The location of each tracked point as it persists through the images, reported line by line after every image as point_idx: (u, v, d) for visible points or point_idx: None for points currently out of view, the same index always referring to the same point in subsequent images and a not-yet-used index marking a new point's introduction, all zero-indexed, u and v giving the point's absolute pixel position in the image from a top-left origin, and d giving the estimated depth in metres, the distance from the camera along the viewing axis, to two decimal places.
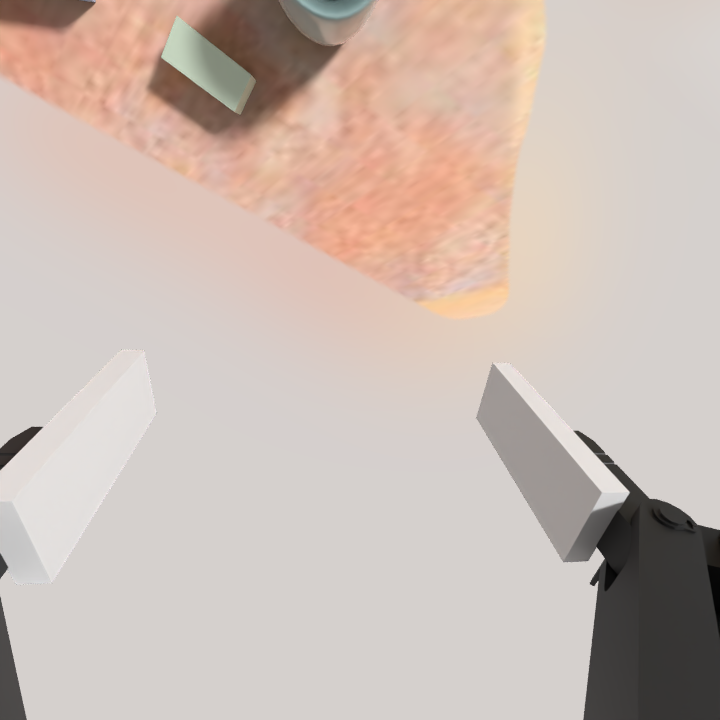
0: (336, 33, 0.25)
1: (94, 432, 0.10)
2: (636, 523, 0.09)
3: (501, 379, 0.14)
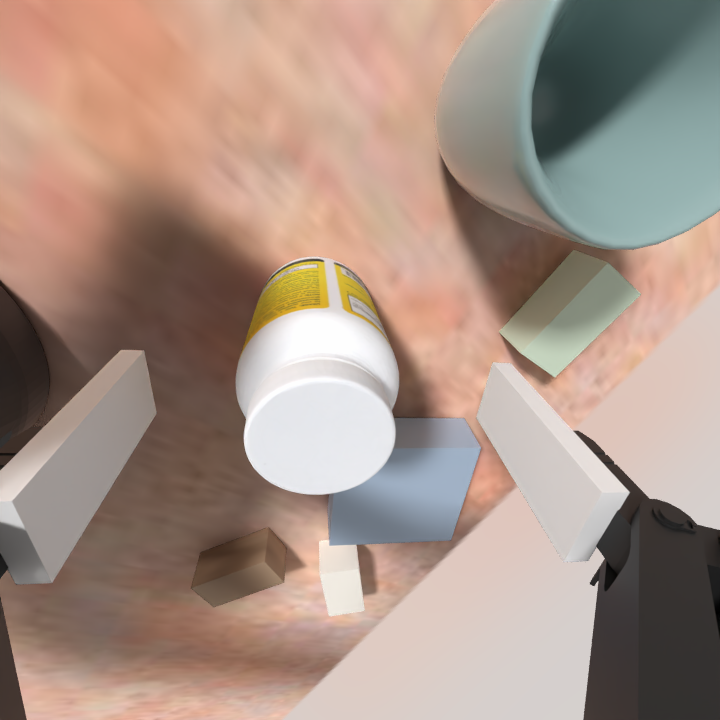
0: None
1: (94, 432, 0.10)
2: (636, 522, 0.09)
3: (501, 379, 0.14)
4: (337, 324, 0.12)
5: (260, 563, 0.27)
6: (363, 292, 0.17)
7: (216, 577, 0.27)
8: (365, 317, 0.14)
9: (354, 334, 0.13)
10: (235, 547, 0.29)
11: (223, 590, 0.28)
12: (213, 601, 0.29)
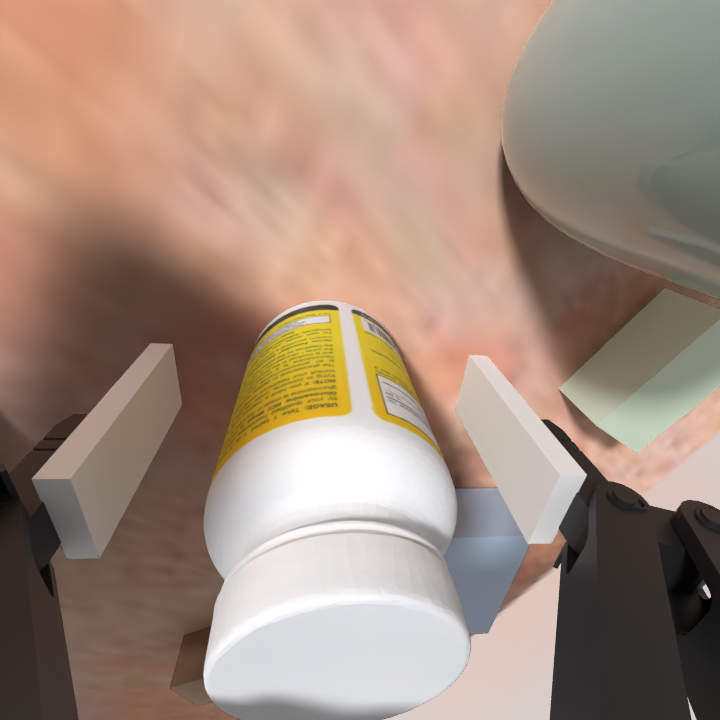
0: None
1: (133, 419, 0.11)
2: (592, 505, 0.09)
3: (477, 370, 0.14)
4: (367, 449, 0.07)
5: None
6: (394, 358, 0.12)
7: (201, 676, 0.22)
8: (407, 421, 0.09)
9: (393, 464, 0.08)
10: None
11: None
12: (197, 700, 0.24)
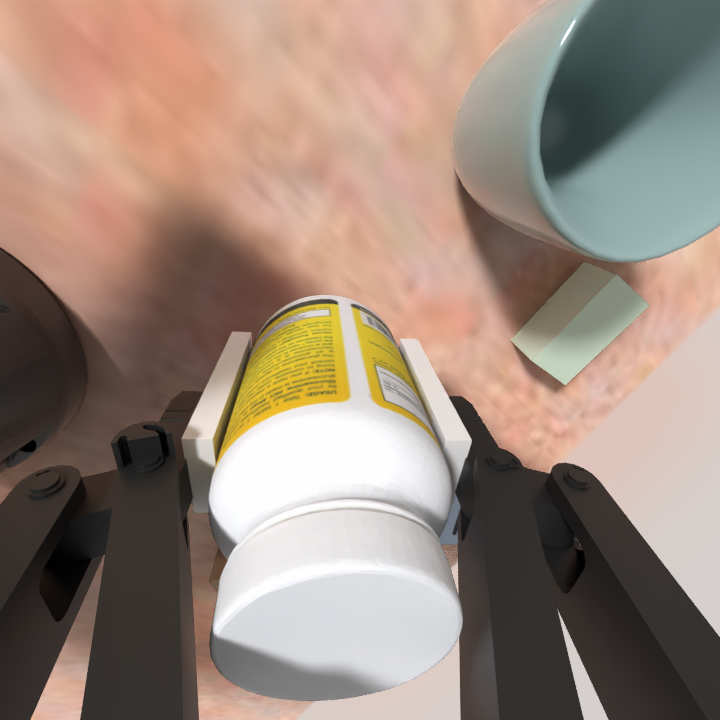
0: None
1: (235, 396, 0.12)
2: (475, 473, 0.10)
3: (404, 352, 0.15)
4: (365, 433, 0.08)
5: None
6: (392, 350, 0.12)
7: None
8: (404, 408, 0.09)
9: (390, 448, 0.08)
10: None
11: None
12: None
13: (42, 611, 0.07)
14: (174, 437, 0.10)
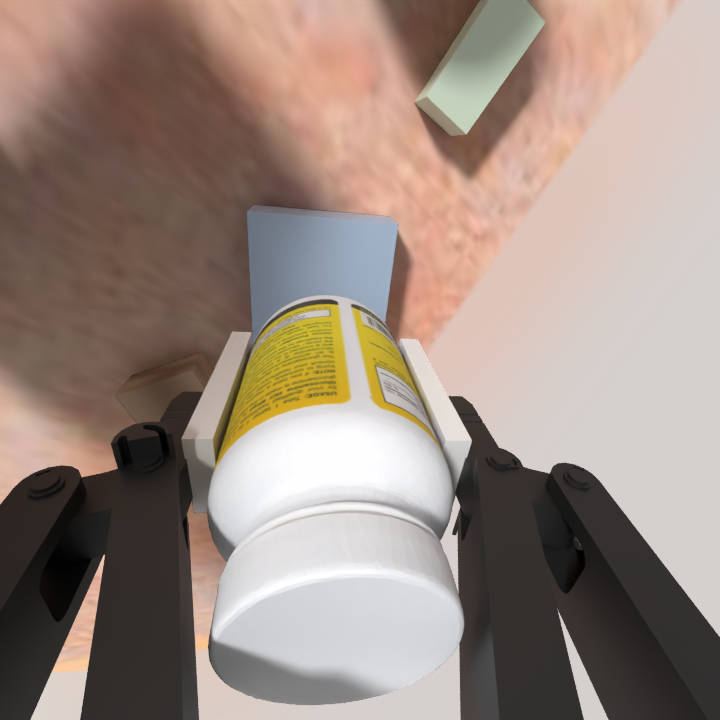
0: None
1: (235, 396, 0.12)
2: (475, 473, 0.10)
3: (404, 352, 0.15)
4: (365, 435, 0.08)
5: (187, 371, 0.27)
6: (393, 351, 0.12)
7: (142, 386, 0.27)
8: (405, 410, 0.09)
9: (391, 449, 0.08)
10: (166, 367, 0.29)
11: (149, 404, 0.28)
12: (139, 418, 0.28)
13: (42, 611, 0.07)
14: (174, 437, 0.10)
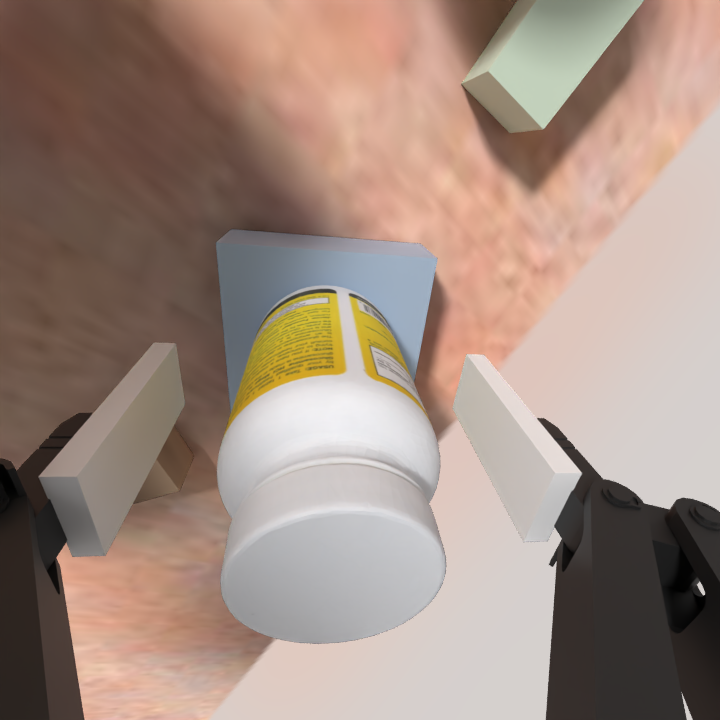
0: None
1: (137, 418, 0.11)
2: (587, 504, 0.09)
3: (473, 369, 0.14)
4: (359, 401, 0.09)
5: None
6: (387, 335, 0.13)
7: None
8: (395, 382, 0.10)
9: (382, 414, 0.09)
10: None
11: None
12: None
13: None
14: None
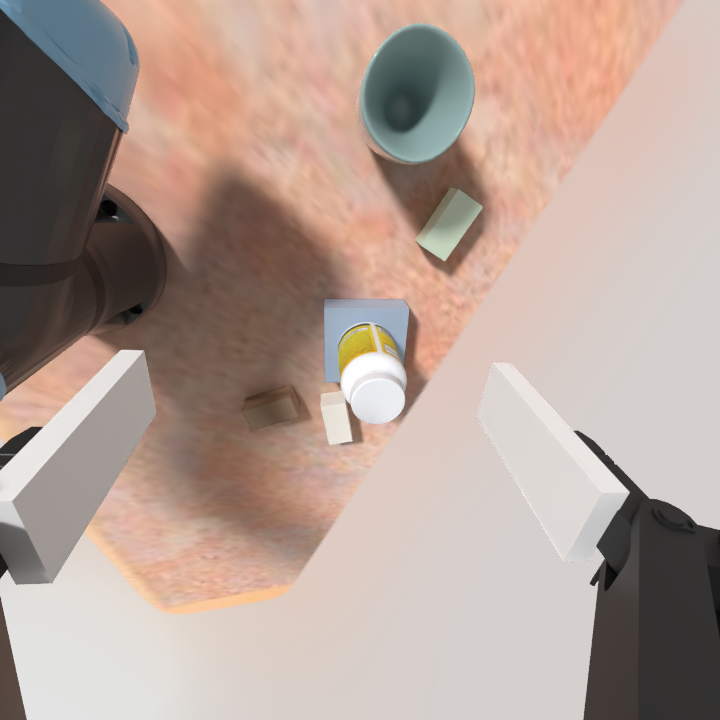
0: None
1: (94, 432, 0.10)
2: (636, 523, 0.09)
3: (501, 379, 0.14)
4: (381, 358, 0.33)
5: (286, 398, 0.44)
6: (389, 340, 0.37)
7: (258, 405, 0.44)
8: (391, 354, 0.34)
9: (387, 362, 0.33)
10: (269, 394, 0.46)
11: (260, 417, 0.45)
12: (253, 425, 0.45)
13: None
14: None
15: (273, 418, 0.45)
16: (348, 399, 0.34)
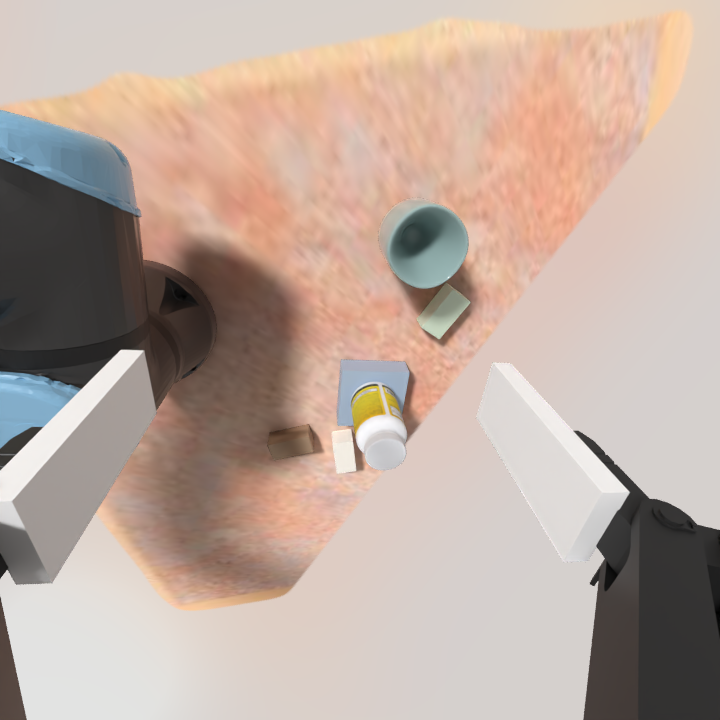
0: None
1: (94, 432, 0.10)
2: (635, 522, 0.09)
3: (501, 379, 0.14)
4: (389, 420, 0.43)
5: (305, 437, 0.54)
6: (394, 400, 0.47)
7: (281, 441, 0.54)
8: (396, 415, 0.44)
9: (393, 423, 0.43)
10: (290, 431, 0.56)
11: (282, 450, 0.54)
12: (275, 456, 0.55)
13: None
14: None
15: (292, 452, 0.55)
16: (361, 449, 0.44)
